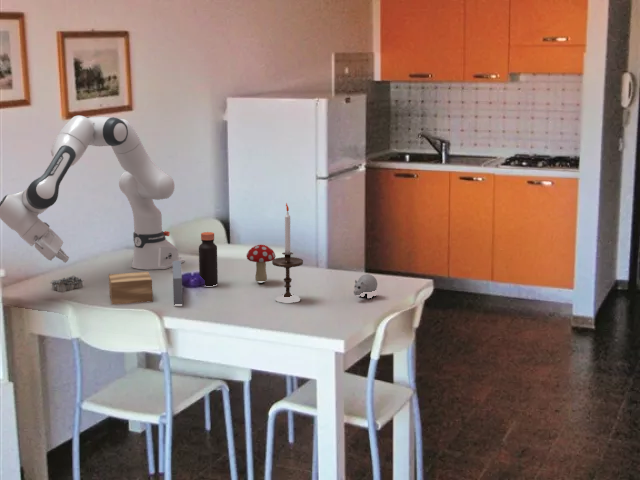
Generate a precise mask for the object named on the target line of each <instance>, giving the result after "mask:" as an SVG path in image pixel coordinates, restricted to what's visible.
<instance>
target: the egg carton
mask: <svg viewBox="0 0 640 480" xmlns="http://www.w3.org/2000/svg"><path fill="white" fill-rule="evenodd" d="M83 282H85V280H84V279H82V278H79V277H76V276H75V275H72V276H69V277H66V278H65V277H63V278H61V279H53V280H51V282H50V284H51V289H53V290H52V291H57V292H58V291H59V292H60V293H61V291H62V292H66V291H72V290H75V289H82V287H83ZM59 292H58V293H59Z"/></svg>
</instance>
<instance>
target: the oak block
mask: <svg viewBox="0 0 640 480" xmlns="http://www.w3.org/2000/svg"><path fill="white" fill-rule="evenodd" d="M108 289H109V298H110V302H111V304H112V305H123V304H135V303H146V302H147V301H150V302H153V298H154V297H153V280H152V277H151V275H150V273H149V271H140V272H137V271H136V272H125V273H109V274H108Z"/></svg>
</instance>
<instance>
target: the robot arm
mask: <svg viewBox="0 0 640 480" xmlns="http://www.w3.org/2000/svg"><path fill="white" fill-rule="evenodd" d="M89 146H93V147H109V146H110V147H111V148H112V151H113V153H114V155H115V157H116V158H117V160H118V162H119V165H120V166H121V168H122V169H123V170H124V171H123V173H122V174H121V175H120V177H119V180H118V186H119V189H120V191H121V192H122V193H123V194H124V195H125V197H126V198H127V201H128V202H129V205H130V207H131V211H132V215H133V227H134V228H133V229H134V232H133V235H132V236H133V244H134V246H133V255H132V263H131V267H132V268H134V269H138V270H167V269H169V268H173V261H181V264H182V263H185V261H186V260H185V259H184V257H180V256H179V255H180V254H179V250H178V248H177V247H176V245H174V244H173V243H171V242H170V241H168V240H167V239H166V237H170V235H171V232H170V231H167V230H165V231H163V226H162V225H163V222H162V221H163V220H162V212H161V211H160V209H159V208H158V207H157V206H156V205H155V203H154V201H153V200H155V201H156V200H157V201H160V200H165V199H169V198H170V197H172V195H173V193H174V191H175V181H174V178H173V177H172V176H170V175H169V174H167V173H166V172H164V171H163V170H162V169H161V168H160V167H159V166H158V165H157V164H156V163H155V162H154V161H153V160H152V158H151V157H150V156H149V154H148V152H147V151H146V149H145V147H144V145H143V143H142V141H141V139H140V137H139V135H138V133H137V131H136V130H135V129H134V127H133V126H132V124H130V121H128V120H127V119H124V118H117V117H109V116H91V117H90V116H84V115H80V114H79V115H75V116H72V118H70V119H69V120H68V121H67V123H65V125H64V126H63V127H62V128H61V130H60V131H59V132H58V134H57V135H56V137H55V139H54V141H53V143H52V145H51V148H50V153H51V156H52V159H51V161H50V162H49V165H48V166H47V167H46V169H45V170H44V173H43V174H42V175H41V176H40V177H37V178H36V179H34V180H33V181H32V182H31V183H30V184H29V185H28V187H26V188H25V189H23V190H21V191H20V192H16V193H12V194H6V195H5V196H4V197H3V198H2V199H1V200H0V220H1V221H2V222H3V223H4V224H5V225H6V226H7V227H8V228H10V229H11V230H13V231H14V232H15V233H17V234H18V235H19V237H20V238H22V239H23V241H24V242H26V243H27V244H28V245H29V246H31V247H33V246H34V248H35V249H36V250H37V251H38V252H39V253H40V255H42V256H43V257H45V258H46V259H47V260H48V261H52V260H53V259H54V258H55V257H56V258H57V259H58V260H61V261H62V262H63V263H67V262H68V261H69V259H70V256H69V255H67V254H66V253H65V251H64V250H63V249H62V246H63V244H64V242H63V239H62V238H61V237H60V236H59V235H58V234H57V233H56V232H55V231H54V229H51V228H50V226H51V225H49V224H48V223H47V222H45V221H43V220H41V219H40V218H39V217H38V216H39V215H41V214H42V213H44V212H45V211H46V210H48V209H49V208H50V207H51V206H53V205H55V203H56V202H57V200H58V198H59V191H60V185H61V182H62V181H63V179H64V178H65V175H66V174H67V172H68V171H69V169H70V168H71V167H72V166H74V165H75V164H76V163H78V161H80V159H81V158H82V157H83V155H84V153H86V150H87V149H88V147H89Z"/></svg>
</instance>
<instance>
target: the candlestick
mask: <svg viewBox="0 0 640 480" xmlns="http://www.w3.org/2000/svg"><path fill="white" fill-rule="evenodd" d="M285 207H286V214H285V215H284V252H282V253H281V254H282V255H284V256H283V257H275V259H273V260H272V261H271V264H272V265H273V266H276V267H279V268H284V269H285V277H284V278H283V282H284V283H285V285H284V286H283V287H284V288H285V293H284V297H290V296H292V295H291V294H292V293H291V292H290V291H291V290H290V289H291V288H292V285H291V282H292V280H293V279H292V278H291V276H290V275H291V272H290V271H291V270H290V269H291V268H295V267H297V268H298V267H300V266H303V264H304V259H302V258H299V257H294V256H292V255H294V252H291V215H290V214H289V209H290V208H289V206H288V203H287V202H286V203H285Z"/></svg>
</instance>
